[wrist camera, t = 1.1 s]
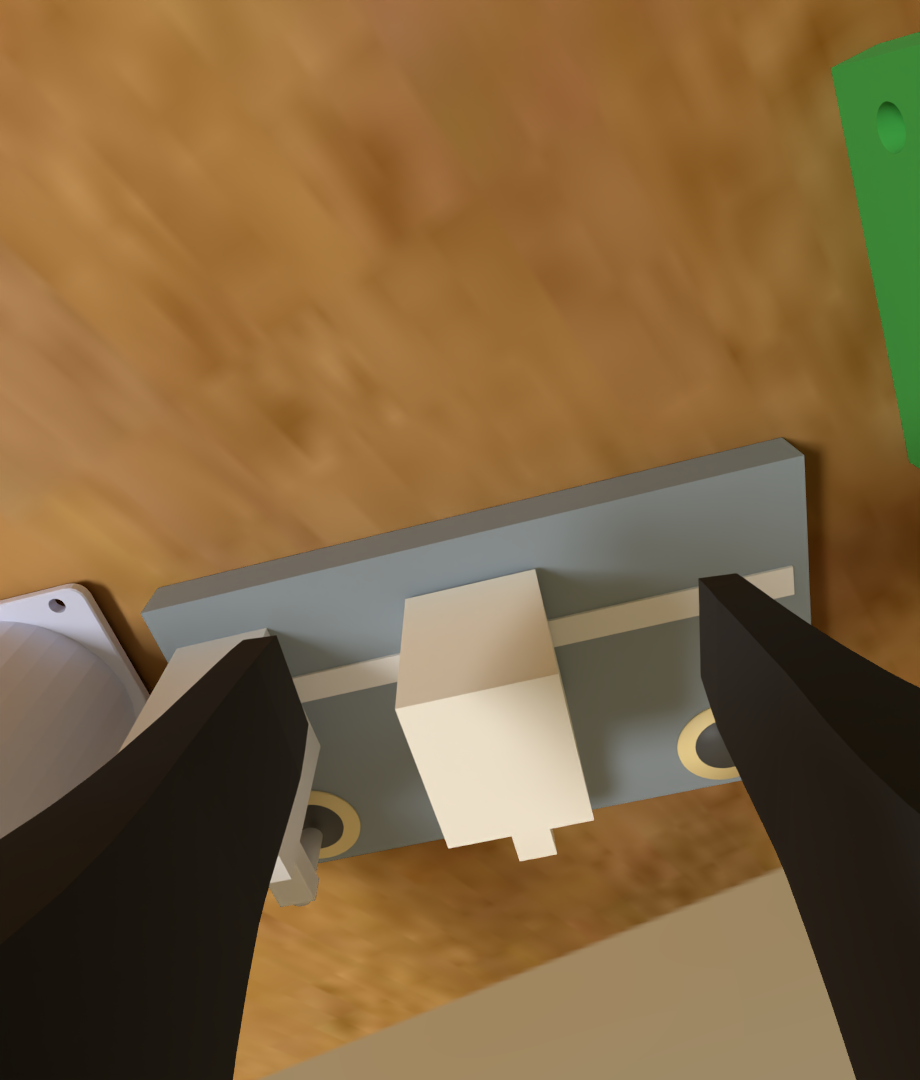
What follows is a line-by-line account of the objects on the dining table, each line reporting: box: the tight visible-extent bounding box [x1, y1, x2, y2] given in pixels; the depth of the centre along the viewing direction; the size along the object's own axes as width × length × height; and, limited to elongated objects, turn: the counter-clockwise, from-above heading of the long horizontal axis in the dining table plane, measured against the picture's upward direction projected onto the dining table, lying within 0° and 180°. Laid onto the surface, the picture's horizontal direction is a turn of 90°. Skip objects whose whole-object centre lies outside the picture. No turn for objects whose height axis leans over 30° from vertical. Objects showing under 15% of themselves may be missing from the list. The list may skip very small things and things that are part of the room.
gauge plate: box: [118, 438, 811, 907], centre depth 22 cm, size 20×12×7 cm, turn 104°
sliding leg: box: [395, 569, 594, 861], centre depth 21 cm, size 4×9×5 cm, turn 14°
